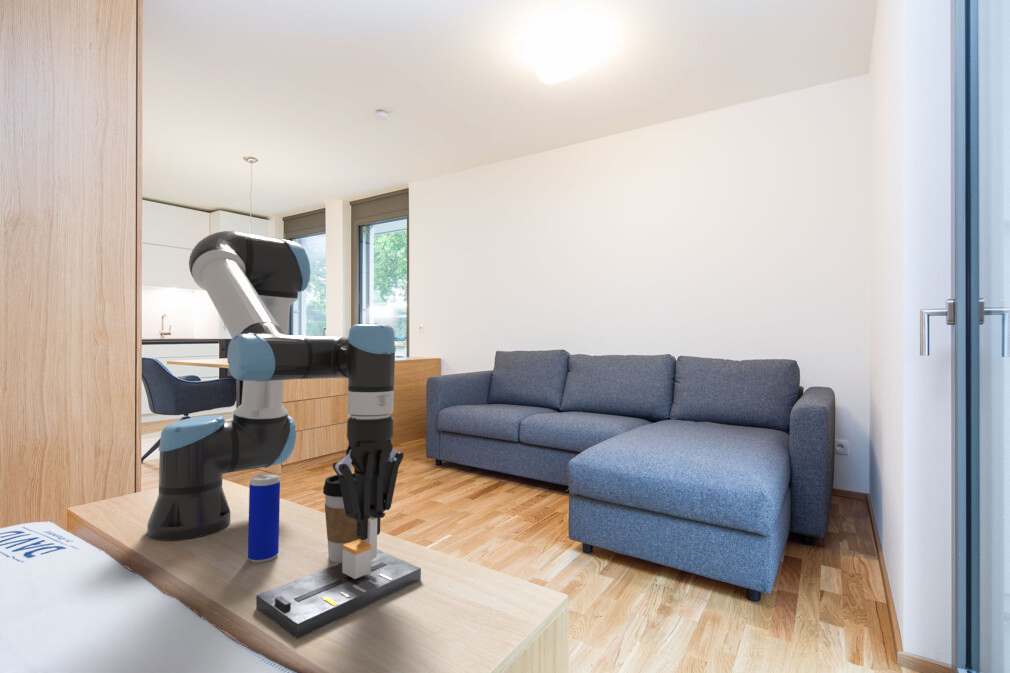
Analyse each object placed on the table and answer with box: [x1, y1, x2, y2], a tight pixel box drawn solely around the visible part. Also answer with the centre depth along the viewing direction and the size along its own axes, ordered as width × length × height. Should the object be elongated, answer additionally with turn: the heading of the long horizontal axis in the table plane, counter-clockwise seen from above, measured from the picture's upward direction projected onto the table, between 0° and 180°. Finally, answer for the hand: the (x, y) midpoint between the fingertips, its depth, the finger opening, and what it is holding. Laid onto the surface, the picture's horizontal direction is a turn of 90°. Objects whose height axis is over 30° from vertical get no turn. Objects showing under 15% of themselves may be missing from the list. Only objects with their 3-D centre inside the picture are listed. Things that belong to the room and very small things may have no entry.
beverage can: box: [247, 473, 281, 564], centre depth 92 cm, size 5×5×15 cm
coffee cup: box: [322, 473, 360, 564], centre depth 93 cm, size 8×8×15 cm
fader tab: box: [342, 539, 371, 579], centre depth 81 cm, size 4×3×4 cm
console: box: [255, 548, 422, 640], centre depth 79 cm, size 12×22×3 cm, turn 141°
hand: (368, 556), depth 82 cm, fingers closed
